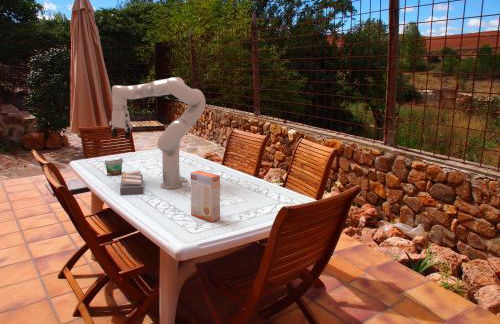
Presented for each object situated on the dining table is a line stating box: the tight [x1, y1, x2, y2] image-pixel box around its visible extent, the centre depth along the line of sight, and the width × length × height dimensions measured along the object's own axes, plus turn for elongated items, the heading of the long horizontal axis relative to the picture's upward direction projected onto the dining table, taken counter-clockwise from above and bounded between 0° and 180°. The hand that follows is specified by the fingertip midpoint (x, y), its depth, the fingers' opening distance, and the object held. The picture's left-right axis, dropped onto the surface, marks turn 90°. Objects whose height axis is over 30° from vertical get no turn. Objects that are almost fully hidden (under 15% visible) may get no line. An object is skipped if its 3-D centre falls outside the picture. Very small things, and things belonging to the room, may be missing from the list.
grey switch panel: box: [119, 173, 145, 196], centre depth 229 cm, size 12×32×4 cm, turn 16°
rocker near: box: [122, 179, 141, 184], centre depth 218 cm, size 10×4×2 cm, turn 105°
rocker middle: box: [122, 174, 141, 180], centre depth 227 cm, size 10×4×2 cm, turn 105°
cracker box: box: [190, 170, 221, 223], centre depth 181 cm, size 14×6×21 cm, turn 48°
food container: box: [104, 157, 124, 177], centre depth 254 cm, size 12×6×10 cm, turn 143°
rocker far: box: [122, 169, 142, 175], centre depth 235 cm, size 10×4×2 cm, turn 106°
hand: (121, 137), depth 228 cm, fingers open, 9 cm apart
